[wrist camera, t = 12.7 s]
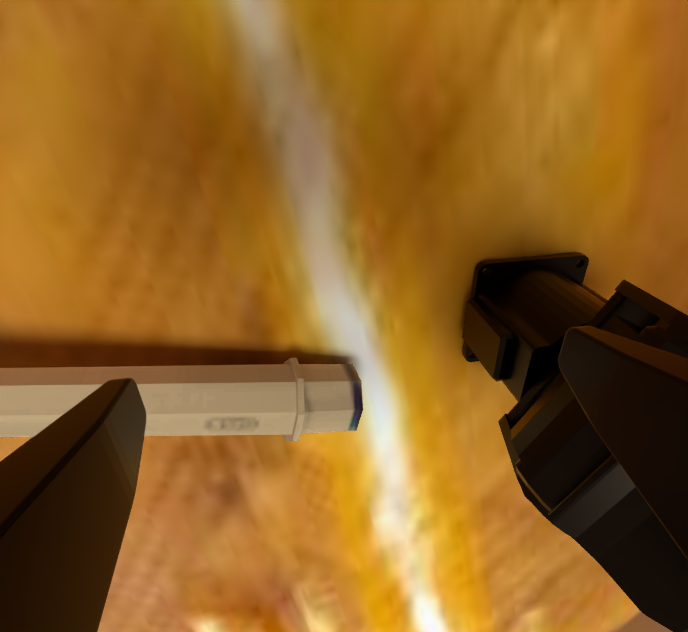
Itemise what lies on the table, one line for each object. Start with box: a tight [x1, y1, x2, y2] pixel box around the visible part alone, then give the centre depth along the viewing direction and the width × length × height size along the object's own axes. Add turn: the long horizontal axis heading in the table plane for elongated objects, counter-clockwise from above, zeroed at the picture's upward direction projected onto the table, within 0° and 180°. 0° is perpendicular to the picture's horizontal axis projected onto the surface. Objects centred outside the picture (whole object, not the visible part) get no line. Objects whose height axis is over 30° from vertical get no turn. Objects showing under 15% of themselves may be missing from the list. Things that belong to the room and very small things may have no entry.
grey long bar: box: [0, 358, 363, 441], centre depth 21 cm, size 5×7×25 cm
